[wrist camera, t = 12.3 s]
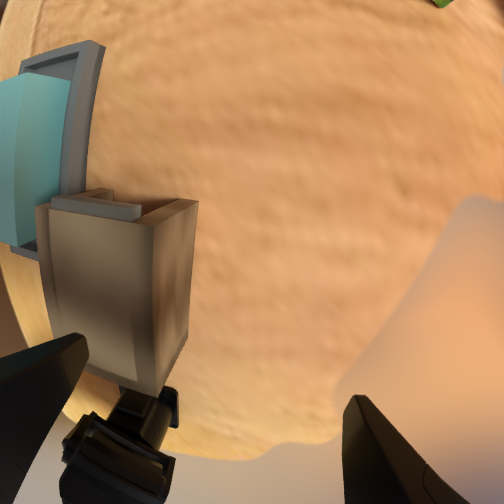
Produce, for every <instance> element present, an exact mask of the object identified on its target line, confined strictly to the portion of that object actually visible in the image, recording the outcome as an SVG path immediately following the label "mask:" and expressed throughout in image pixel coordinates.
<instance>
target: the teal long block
mask: <svg viewBox="0 0 504 504" xmlns="http://www.w3.org/2000/svg"><path fill="white" fill-rule="evenodd" d="M70 84H71V81H68V80H64V79H59V78H54V77H49V76H44V75H39V74H34V73H28V72H27V73H24V74H21V75H18V76H15V77H12V78H9V79H7V80H4V81H2V82H0V241H1V242H4V243H7V244H10V245H13V246H16V247H19V246H21V245H23V244H26V243H28V242H30V241H32V240H34V239H36V238H37V237H36V223H35V206H38V205H42V204H45V203H48V202H51V197H54V196H58V195H59V174H60V157H61V145H62V135H63V127H64V119H65V112H66V106H67V100H68V94H69V89H70Z"/></svg>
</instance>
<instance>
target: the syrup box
mask: <svg viewBox="0 0 504 504" xmlns="http://www.w3.org/2000/svg"><path fill="white" fill-rule="evenodd" d="M432 1H434V2H435V3H436V4H437V5H438V6H439V7H440V8H445V7H446V6H447V5H449V4H450V3H451V2H452V1H453V0H432Z"/></svg>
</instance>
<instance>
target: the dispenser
mask: <svg viewBox="0 0 504 504" xmlns="http://www.w3.org/2000/svg"><path fill="white" fill-rule="evenodd" d="M113 191H114V190H111V189H102V188H99V189H95V190H91V191H87V192H83V193H80V194H76V195H65V194H61V195H58V196H54V197H51V202H48V203H45V204H42V205H38V206H35V223H36V237H37V248H38V257H39V265H40V273H41V279H42V285H43V291H44V297H45V302H46V307H47V312H48V316H49V321H50V325H51V329H52V333H53V337H54V339H57V338H59V337H62V336H65V335H68V334H71V333H73V332H77V333H80V334H82V335H84V336H85V337H86V340H87V345H88V349H89V359H88V361H87V363H86V365H85V367H84V369H83V370H84V371H86V372H88V373H91V374H93V375H95V376H98V377H100V378H103V379H105V380H108V381H110V382H113V383H116V384H118V385H121V386H124V387H126V388H129V389H132V390H135V391H138V392H141V393H144V394H147V395H150V396H153V397H156V398H158V396H159V394H160V392H161V390H162V388H163V386H164V384H165V382H166V380H167V378H168V376H169V374H170V372H171V370H172V368H173V366H174V364H175V362H176V360H177V358H178V356H179V354H180V352H181V350H182V348H183V346H184V344H185V342H186V340H187V338H188V323H189V306H190V290H191V276H192V264H193V252H194V241H195V231H196V221H197V212H198V203H199V201H193V200H187V199H178V200H176V201H174V202H172V203H169V204H167V205H165V206H163V207H161V208H158V209H156V210H154V211H152V212H150V213H148V214H146V215H144V216H141V205H140V204H133V203H126V202H119V201H113Z"/></svg>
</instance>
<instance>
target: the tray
mask: <svg viewBox="0 0 504 504" xmlns="http://www.w3.org/2000/svg"><path fill="white" fill-rule="evenodd" d="M105 49H106V47H104V46H102V45H100V44H98V43H96V42H94V41H91V40H87V41H83V42H79V43H75V44H72V45H68V46H64V47H61V48H58V49H54V50H51V51H48V52H45V53H42V54H39V55H36V56H34V57H31V58H28V59H25V60H23V61H21V65H20V69H19V73H18V75H21V74H24V73H27V72H28V73H34V74H39V75H44V76H49V77H54V78H59V79H64V80H68V81H71V84H70V89H69V94H68V100H67V106H66V112H65V119H64V127H63V135H62V145H61V157H60V174H59V195H61V194H65V195H76V194H80V193H83V192H85V185H86V167H87V154H88V143H89V134H90V126H91V119H92V112H93V105H94V99H95V94H96V88H97V83H98V78H99V74H100V69H101V65H102V61H103V56H104V53H105ZM10 249H11V252H13V253H15V254H18V255H21V256H24V257H27V258H30V259H33V260H36V261H39V257H38V248H37V238H36V239H34V240H32V241H30V242H28V243H26V244H23V245H21V246H19V247H16V246H13V245H10Z"/></svg>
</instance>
